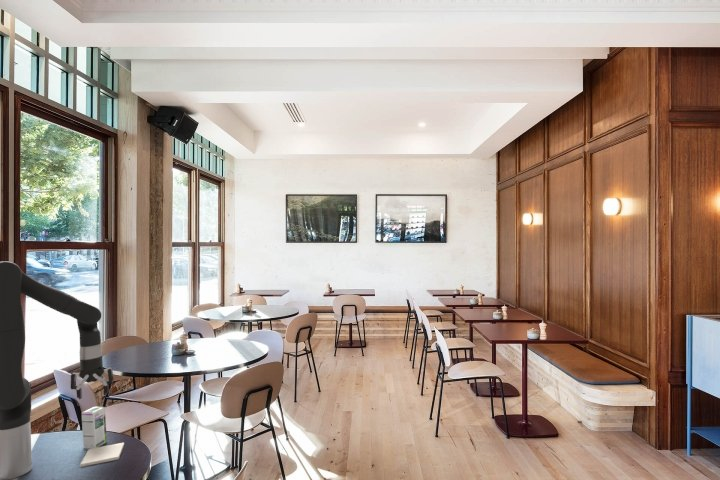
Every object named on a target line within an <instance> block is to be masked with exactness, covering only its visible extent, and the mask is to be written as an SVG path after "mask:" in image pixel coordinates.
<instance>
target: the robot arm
mask: <svg viewBox="0 0 720 480" xmlns="http://www.w3.org/2000/svg"><path fill="white" fill-rule="evenodd" d="M21 294H22V295H24V296H26V297H28V298H30V299H32V300H35V301H36V302H38V303H40V304H42V305H43V306H46V307H47V308H50V309H52V310H54V311H57V312H59V313H60V314H62V315H66V316H70V317H72V318H73V319H75V320H76V324H77V329H78V333H79V368H80V371H79V372H72V373H71V375H70V389H71V390H76V398H77V399H78V400H81V399H83V388H82V387H83V385H84V384H85V383H96V382H99V383H101V384H102V385H103V396H106V395H107V394H109V385H110V384H112V383H113V382H114V381H115V379H114V373H113V368H112V367H108V368H104V366H103V364H104V363H103V362H104V361H103V348H102V344H101V343H102V339H101V338H102V336H101V331H100V330H99V328H98V323H99V322H100V321H101V318H102V312H101V310H100V309H99V308H98V307H96V306H93V305H91V304H89V303H87V302H85V301H81V300H80V299H78V298H76V297H75V296H72V295H70V294H68V293H66V292H64V291H62V290H61V289H58V288H55V287H53V286H50V285H48V284H46V283H43V282H40V281H38V280H36V279H35V278H32V277H31V276H30V275H28V274H26V273H24V272H23V271H22V269H21V267H20V266H19V265H18V264H16V263H14V262H13V261H5V260H4V261H3V260H2V261H0V480H11V479H15V478H19V477H21V476H23V475H25V474H27V473H29V472H30V471H31V470H32V469H33V458H32V454H33V453H32V452H33V451H32V435H31V434H32V428H31V412H32V388H31V387H32V386H31V383H30V382H29V380H28V379H27V378H24V377H23V371H22V363H23V358H24V357H23V356H24V350H25V346H26V345H25V344H26V330H25V329H26V328H25V327H26V326H25V320H24V311H23V306H22V301H21V300H22V299H21ZM104 373H105V375H107V377H108V378H107V379H106V377H105V376H104ZM77 378H81V381H80V382H79V384H78V385H77Z"/></svg>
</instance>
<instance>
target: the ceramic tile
mask: <svg viewBox="0 0 720 480" xmlns="http://www.w3.org/2000/svg"><path fill="white" fill-rule="evenodd" d="M124 447H125V442H119V443H114V444H108V445H104V446H103V445H102V446H99V447H97V448H92V449H87V452H86V454H85V456H84V457H83V459H82V460H81V462H80V468H81V467H87V466H92V465H98V464H101V463H106V462H107V463H108V462H112V461H118V460H120V458H121V455H122V452H123V450H124Z"/></svg>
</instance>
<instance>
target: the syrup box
mask: <svg viewBox="0 0 720 480" xmlns="http://www.w3.org/2000/svg"><path fill="white" fill-rule="evenodd" d="M106 418H107V417H106V407H105V406H93V407H91V408H89V409H86V410H85V411H81V425H82V443H83V444H82V445H83V447H82V448H84V449H87V450H89V449H92V448H97V447H102V446H103V445H104V444H107V442H108V440H107V436H108V435H107V420H106Z"/></svg>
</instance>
